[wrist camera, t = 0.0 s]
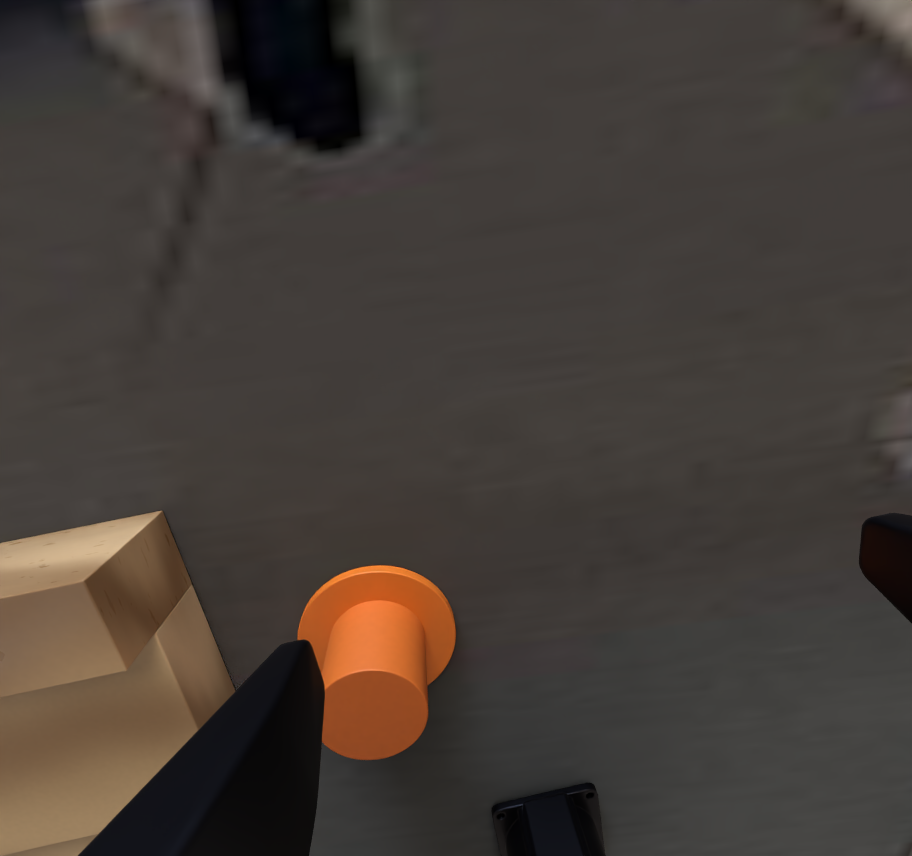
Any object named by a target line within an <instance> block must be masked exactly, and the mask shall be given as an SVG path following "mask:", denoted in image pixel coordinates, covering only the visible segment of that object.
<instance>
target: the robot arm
mask: <svg viewBox="0 0 912 856" xmlns="http://www.w3.org/2000/svg"><path fill="white" fill-rule="evenodd" d="M859 565H860V568H861V571H862V573H863V574H864V576H865V577H866V578H867V579H868V580H869V581H870V582H871V583H872V584H873V585H874V586H875V587H876V588H877V589H878V590H879V591H880V592H881V593H882V594H883V595H884V596H885V597H886V598H887V599H888V600H889V601H890V602H891V603H892V604H893V605H894V606H895V607H896V608H897V609H898V610H899V611H900V612H901V613H902V614H903V615H904V616H905V617H906V618H907V619H908V620H909V621H910V622H911V623H912V516H910V515H905V514H899V513H889V514H884V515H880V516H875V517H871V518H868V519H867V520H865V522H864V523H863V525H862V532H861V543H860V555H859ZM324 704H325V686H324V681H323V677H322V674H321V671H320V668H319V665H318V662H317V659H316V656H315V653H314V650H313V647H312V645H311V643H310V642H309V641H308V640H306V639H302V640H298V641H293V642H288V643H284V644H282V645H280V646H279V647H278V648H277V649H276V650H275V651H274V652H273V653H272V654H271V655H270V656H269V657H268V658H267V659H266V660H265V661H264V662H263V663H262V664H261V665H260V666H259V667H258V668H257V669H256V670H255V672H254V673H253V674H252V675H251V676H250V677H249V678H248V679H247V680H246V681H245V682H244V683H243V684H242V685H241V686H240V687H239V688H238V689H237V690H236V691H235V692H234V693H233V694H232V695H231V696H230V698H229V699H228V700H227V701H226V702H225V703H224V704H223V705H222V706H221V707H220V708H219V709H218V710H217V711H216V712H215V713H214V714H213V715H212V716H211V717H210V718H209V719H208V720H207V721H206V723H205V724H204V725H203V726H202V727H201V728H200V729H199V730H198V731H197V732H196V733H195V734H194V735H193V736H192V737H191V738H190V739H189V740H188V741H187V742H186V743H185V744H184V745H183V746H182V747H181V749H180V750H179V751H178V752H177V753H176V754H175V755H174V756H173V757H172V758H171V759H170V760H169V761H168V762H167V763H166V764H165V765H164V766H163V767H162V768H161V769H160V770H159V771H158V772H157V774H156V775H155V776H154V777H153V778H152V779H151V780H150V781H149V782H148V783H147V784H146V785H145V786H144V787H143V788H142V789H141V790H140V791H139V792H138V793H137V794H136V795H135V796H134V797H133V798H132V800H131V801H130V802H129V803H128V804H127V805H126V806H125V807H124V808H123V809H122V810H121V811H120V812H119V813H118V814H117V815H116V816H115V817H114V818H113V819H112V820H111V821H110V822H109V823H108V824H107V826H106V827H105V828H104V829H103V830H102V831H101V832H100V833H99V834H98V835H97V836H96V837H95V838H94V839H93V840H92V841H91V842H90V843H89V844H88V845H87V846H86V847H85V848H84V849H83V850H82V852H81V853H80V854H79V855H78V856H309V852H310V846H311V840H312V834H313V828H314V822H315V815H316V808H317V798H318V787H319V773H320V759H321V745H322V732H323V718H324ZM492 816H493V821H494V825H495V830H496V835H497V839H498V844H499V848H500V853H501V856H606V855H605V850H604V842H603V834H602V826H601V818H600V810H599V802H598V794H597V791H596V788H595V786H594V785H593V784H592V783H585V784H580V785H576V786H572V787H568V788H563V789H559V790H555V791H550V792H546V793H542V794H537V795H533V796H529V797H524V798H520V799H516V800H511V801H507V802H503V803H499V804H496V805H495V806H493V808H492Z"/></svg>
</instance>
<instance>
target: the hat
mask: <svg viewBox="0 0 912 856" xmlns="http://www.w3.org/2000/svg"><path fill="white" fill-rule="evenodd" d="M302 639H306V640H308V641H309V642H310V643H311V645H312V647H313V650H314V653H315V656H316V659H317V662H318V665H319V668H320V671H321V674H322V677H323V681H324V686H325V704H324V718H323V732H322V742H323V743H324V744H325V745H326V746H327V747H328V748H329V749H331V750H333V751H334V752H336V753H338V754H340V755H342V756H345V757H348V758H352V759H359V760H377V759H382V758H387V757H390V756H393V755H395V754H398V753H400V752H402V751H404V750H405V749H407V748H408V747H409V746H411V745H412V744H413V743H414V742H415V741H416V740H417V739H418V738H419V736H420V735H421V734H422V732H423V730H424V728H425V726H426V723H427V719H428V691H427V686H428V685H429V684H430V683H431V682H433V681H434V680H435V679H436V678H437V677H438V676H439V675H440V674H441V673H442V671H443V670H444V668H445V667H446V666H447V664H448V662H449V660H450V658H451V656H452V653H453V650H454V647H455V641H456V628H455V620H454V615H453V612H452V608H451V606H450V604H449V602H448V600H447V599H446V597H445V596H444V594H443V593H442V592H441V591H440V590H439V589H438V588H437V587H436V586H435V585H434V584H433V583H432V582H430V581H429V580H428V579H426V578H424V577H423V576H421V575H419V574H417V573H415V572H413V571H410V570H407V569H404V568H399V567H394V566H384V565H377V566H366V567H360V568H356V569H353V570H349V571H347V572H344V573H342V574H340V575H338V576H336V577H334V578H333V579H331V580H330V581H328V582H327V583H325V584H324V585H323V586H322V587H321V588H320V589H319V590H318V591H316V593H315V594H314V595H313V596H312V598H311V599H310V600H309V602H308V604H307V605H306V607H305V610H304V612H303V615H302V617H301V620H300V624H299V629H298V640H302Z"/></svg>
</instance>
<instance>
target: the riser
mask: <svg viewBox="0 0 912 856" xmlns="http://www.w3.org/2000/svg"><path fill="white" fill-rule="evenodd" d="M234 692H235V689H234V686H233V684H232V681H231V679H230V676H229V674H228V672H227V669H226V667H225V664H224V662H223V659H222V657H221V654H220V652H219V649H218V647H217V644H216V642H215V639H214V637H213V635H212V632H211V630H210V627H209V625H208V622H207V620H206V617H205V615H204V612H203V610H202V607H201V605H200V602H199V600H198V598H197V595H196V593H195V590H194V588H193V585H192V582H191V580H190V577H189V575H188V573H187V570H186V568H185V565H184V563H183V560H182V558H181V555H180V553H179V550H178V548H177V545H176V543H175V541H174V538H173V536H172V533H171V531H170V528H169V526H168V523H167V521H166V518H165V516H164V513H163V511H158V512H153V513H148V514H143V515H138V516H133V517H128V518H123V519H118V520H113V521H108V522H103V523H98V524H93V525H88V526H83V527H78V528H73V529H68V530H63V531H59V532H54V533H49V534H44V535H39V536H34V537H29V538H24V539H19V540H14V541H9V542H4V543H0V856H78V855H79V854H80V853H81V852H82V850H83V849H84V848H85V847H86V846H87V845H88V844H89V843H90V842H91V841H92V840H93V839H94V838H95V837H96V836H97V835H98V834H99V833H100V832H101V831H102V830H103V829H104V828H105V827H106V826H107V824H108V823H109V822H110V821H111V820H112V819H113V818H114V817H115V816H116V815H117V814H118V813H119V812H120V811H121V810H122V809H123V808H124V807H125V806H126V805H127V804H128V803H129V802H130V801H131V800H132V798H133V797H134V796H135V795H136V794H137V793H138V792H139V791H140V790H141V789H142V788H143V787H144V786H145V785H146V784H147V783H148V782H149V781H150V780H151V779H152V778H153V777H154V776H155V775H156V774H157V772H158V771H159V770H160V769H161V768H162V767H163V766H164V765H165V764H166V763H167V762H168V761H169V760H170V759H171V758H172V757H173V756H174V755H175V754H176V753H177V752H178V751H179V750H180V749H181V747H182V746H183V745H184V744H185V743H186V742H187V741H188V740H189V739H190V738H191V737H192V736H193V735H194V734H195V733H196V732H197V731H198V730H199V729H200V728H201V727H202V726H203V725H204V724H205V723H206V721H207V720H208V719H209V718H210V717H211V716H212V715H213V714H214V713H215V712H216V711H217V710H218V709H219V708H220V707H221V706H222V705H223V704H224V703H225V702H226V701H227V700H228V699H229V698H230V696H231V695H232V694H233V693H234Z"/></svg>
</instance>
